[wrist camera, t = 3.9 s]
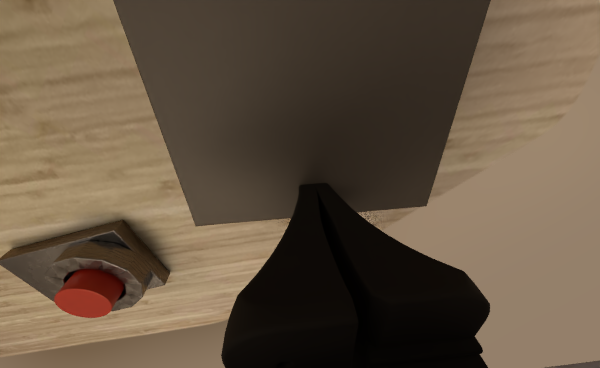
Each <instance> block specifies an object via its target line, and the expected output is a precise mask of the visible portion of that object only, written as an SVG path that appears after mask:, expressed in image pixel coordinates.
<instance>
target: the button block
mask: <svg viewBox="0 0 600 368" xmlns="http://www.w3.org/2000/svg"><path fill="white" fill-rule="evenodd" d="M0 265H1V266H3V267H4V268H6V269H7V270H9V271H10V272H12V273H13V274H14V275H16V276H17V277H19V278H20V279H22V280H23V281H25V282H26V283H28V284H29V285H30V286H32V287H33V288H35V289H36V290H38V291H39V292H41V293H42V294H44V295H45V296H46V297H48V298H49V299H51V300H52V301H54V298H55V295H56V294H57V293H58V291H59V290H60V289H61V288H62V287H63V285H64V284H65V283H66V282H67V281H68V279H69V278H70V277H71V276H72V275H73V274H74V273H75V272H76V271H78V270H81V269H93V270H101V271H104V272H106V273H109V274H111V275H114V276H116V277H117V278H118V279H119V280H120V281H121V282H122V283H123V284H124V290H123V291H122V293H121V295H120V296H119V298H118V300H117V302H116V303H115V305H114V307H113V308H112V310H111V311H116V310H120V309H124V308H129V307H132V306H133V305H134V304H135V303H137V302H138V301H139V300H140V299H141V298H142V297H143V295H144V293H145V291H146V289H150V288H154V287H159V286H163V285H165V284H166V281H167V279H168V277H169V275H170V273H169V271H168V270H167V269H166V268H165V267H164V266H163V265H162V263H161V262H160V261H159V260H158V259H157V258H156V257H155V255H154V254H153V253H152V252H151V251H150V250H149V249H148V247H147V246H146V245H145V244H144V243H143V242H142V241H141V239H140V238H139V237H138V236H137V235H136V234H135V233H134V232H133V230H132V229H131V228H130V227H129V226H128V225H127V224H126V222H125V221H124V220H120V221H116V222H113V223H109V224H105V225H101V226H97V227H94V228H90V229H86V230H82V231H79V232H75V233H71V234H67V235H63V236H60V237H56V238H52V239H48V240H45V241H41V242H37V243H33V244H29V245H26V246H22V247H18V248H14V249H11V250H10V251H8V252H7V253H6V254H5V255H3V256H2V257H1V258H0ZM54 302H55V301H54Z"/></svg>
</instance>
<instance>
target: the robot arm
mask: <svg viewBox="0 0 600 368" xmlns="http://www.w3.org/2000/svg"><path fill="white" fill-rule="evenodd" d="M489 312H490V304H489V302H488V301H487V299H486V298H485V297H484V295H483V294H482V293H481V291H480V290H479V289H478V287H477V286H476V285H475V284H474V282H473V281H472V280H471V279H470V278H469V277H468V275H467V274H466V273H465V272H464V271H462V270H459V269H457V268H454V267H452V266H450V265H447V264H445V263H442V262H440V261H437V260H435V259H432V258H430V257H428V256H426V255H424V254H422V253H419V252H418V251H416V250H414V249H412V248H410V247H408V246H406V245H404V244H402V243H400V242H399V241H397V240H395V239H393V238H392V237H390V236H388V235H387V234H385V233H384V232H382V231H381V230H379V229H378V228H376V227H375V226H373V225H372V224H371V223H369V222H368V221H367V220H365V219H364V218H363V217H362V216H360V215H359V214H358V213H357V212H356V211H355V210H353V209H352V208H351V207H350V206H349V205H348V204H347V203H346V202H345V201H344V200H343V199H342V198H341V197H340V196H339V195H338V194H337V193H336V192H335V191H334V190H333V189H332V187H331V186H330V185H329V184H328V183H317V184H304V185H300V186H299V195H298V200H297V203H296V207H295V210H294V213H293V215H292V218H291V220H290V223H289V225H288V227H287V229H286V231H285V233H284V235H283V237H282V239H281V241H280V242H279V244H278V246H277V247H276V249H275V250H274V252H273V253H272V255H271V256H270V258H269V259H268V260H267V262H266V263H265V264H264V266H263V267H262V268H261V270H260V271H259V272H258V273H257V275H256V276H255V277H254V278H253V279H252V280H251V281H250V282H249V284H248V285H247V286H246V287H245V288H244V289H243V290H242V291H241V292H240V293H239V295H238V296H237V299H236V301H235V303H234V306H233V309H232V311H231V314H230V317H229V320H228V324H227V328H226V331H225V337H224V343H223V349H222V355H221V356H222V361H223V364H224V366H225V368H488V367H487V365H486V364H485V362H484V361H483V359H482V357H481V356H480V354H481V353H482V352H483V350H482V347H481V345H480V344H479V343H478V341H477V339H476V338H475V335H476V333H477V332H478V331H479V329H480V328H481V326H482V325H483V324H484V322H485V321H486V319H487V317H488V315H489ZM546 368H600V361H593V362H586V363H578V364H570V365H561V366H555V367H546Z"/></svg>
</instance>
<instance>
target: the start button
mask: <svg viewBox="0 0 600 368" xmlns="http://www.w3.org/2000/svg"><path fill="white" fill-rule="evenodd" d="M123 290H124V284H123V283H122V282H121V281H120V280H119V279H118V278H117V277H116V276H114V275H111V274H109V273H106V272H104V271H101V270H93V269H81V270H78V271H76V272H75V273H74V274H73V275H72V276H71V277H70V278H69V279H68V281H67V282H66V283H65V284H64V285H63V287H62V288H61V289H60V290H59V291H58V293H57V294H56V295H55V298H54V301H55V303H56V305H57V306H58V307H59V308H60V309H62V310H63V311H65V312H67V313H69V314H72V315H75V316H80V317H87V318H95V317H101V316H104V315H107V314H108V313H109V312H110V311H111V310H112V308H113V307H114V305H115V303H116V302H117V300H118V298H119V296H120V295H121V293H122V291H123Z"/></svg>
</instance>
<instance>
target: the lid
mask: <svg viewBox="0 0 600 368" xmlns="http://www.w3.org/2000/svg"><path fill="white" fill-rule="evenodd" d="M113 1H114V4H115V6H116V9H117V12H118V15H119V17H120V20H121V23H122V26H123V28H124V31H125V34H126V36H127V39H128V42H129V45H130V47H131V50H132V53H133V56H134V58H135V61H136V64H137V67H138V69H139V72H140V75H141V77H142V80H143V83H144V86H145V88H146V91H147V94H148V97H149V99H150V102H151V105H152V108H153V110H154V113H155V116H156V118H157V121H158V124H159V127H160V129H161V132H162V135H163V138H164V140H165V143H166V146H167V149H168V151H169V154H170V157H171V159H172V162H173V165H174V168H175V170H176V173H177V176H178V179H179V181H180V184H181V187H182V190H183V192H184V195H185V198H186V201H187V203H188V206H189V209H190V211H191V214H192V217H193V220H194V222H195V225H196V226H203V225H214V224H226V223H237V222H249V221H261V220H272V219H284V218H292V215H293V213H294V210H295V207H296V203H297V200H298V195H299V186H300V185H304V184H317V183H328V184H329V185H330V186H331V187H332V189H333V190H334V191H335V192H336V193H337V194H338V195H339V196H340V197H341V198H342V199H343V200H344V201H345V202H346V203H347V204H348V205H349V206H350V207H351V208H352V209H353V210H355V211H356V212H365V211H376V210H388V209H399V208H411V207H422V206H427V203H428V199H429V196H430V193H431V190H432V187H433V183H434V180H435V177H436V174H437V171H438V167H439V164H440V161H441V158H442V155H443V151H444V148H445V145H446V142H447V138H448V135H449V132H450V129H451V126H452V122H453V119H454V116H455V113H456V110H457V106H458V103H459V100H460V97H461V94H462V90H463V87H464V84H465V81H466V78H467V74H468V71H469V68H470V65H471V62H472V58H473V55H474V52H475V49H476V46H477V42H478V39H479V36H480V33H481V29H482V26H483V23H484V20H485V17H486V13H487V10H488V7H489V4H490V1H491V0H113Z"/></svg>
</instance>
